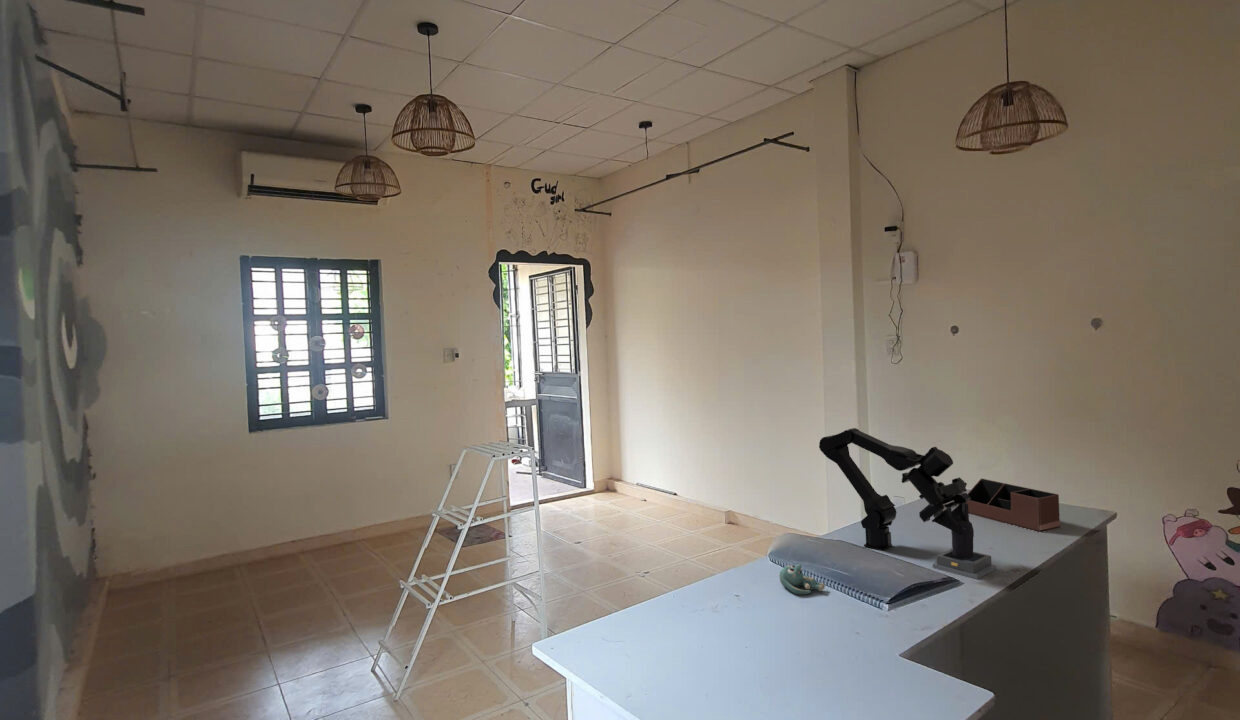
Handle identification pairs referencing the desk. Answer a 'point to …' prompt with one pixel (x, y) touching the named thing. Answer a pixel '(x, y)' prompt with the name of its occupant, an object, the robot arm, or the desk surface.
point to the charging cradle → (965, 564)
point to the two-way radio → (963, 537)
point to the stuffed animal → (798, 580)
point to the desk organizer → (1015, 505)
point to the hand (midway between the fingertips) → (967, 532)
